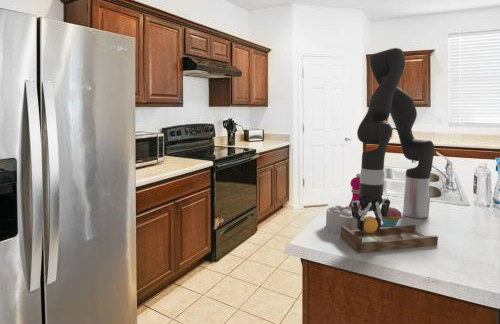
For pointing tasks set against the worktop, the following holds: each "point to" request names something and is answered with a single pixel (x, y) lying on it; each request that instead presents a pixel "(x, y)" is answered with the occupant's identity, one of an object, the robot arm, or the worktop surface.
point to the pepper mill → (355, 189)
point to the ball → (370, 224)
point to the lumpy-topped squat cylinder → (340, 219)
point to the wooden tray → (386, 238)
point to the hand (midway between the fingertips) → (368, 229)
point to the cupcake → (391, 217)
